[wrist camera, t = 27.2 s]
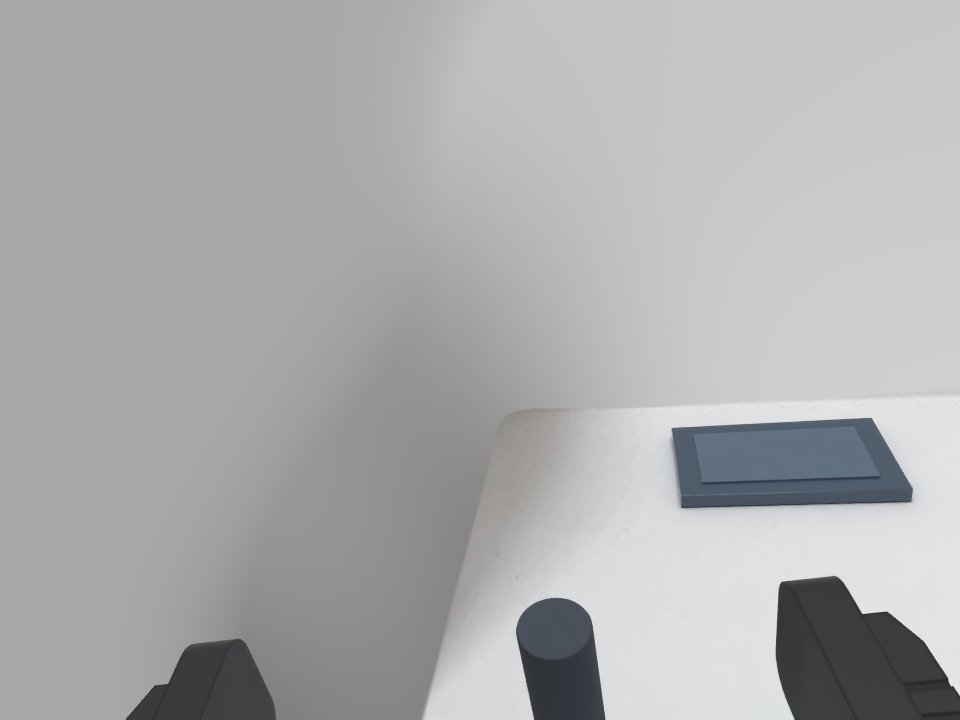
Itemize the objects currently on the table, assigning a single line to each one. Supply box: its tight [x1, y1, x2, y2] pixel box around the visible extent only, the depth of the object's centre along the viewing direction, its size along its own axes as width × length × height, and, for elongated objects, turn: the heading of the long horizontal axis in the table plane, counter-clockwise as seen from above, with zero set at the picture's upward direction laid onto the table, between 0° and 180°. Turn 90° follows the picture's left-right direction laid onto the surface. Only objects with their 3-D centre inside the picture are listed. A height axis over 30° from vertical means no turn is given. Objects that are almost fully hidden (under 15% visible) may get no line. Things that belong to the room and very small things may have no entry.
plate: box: [672, 418, 913, 507], centre depth 49 cm, size 14×8×1 cm, turn 81°
